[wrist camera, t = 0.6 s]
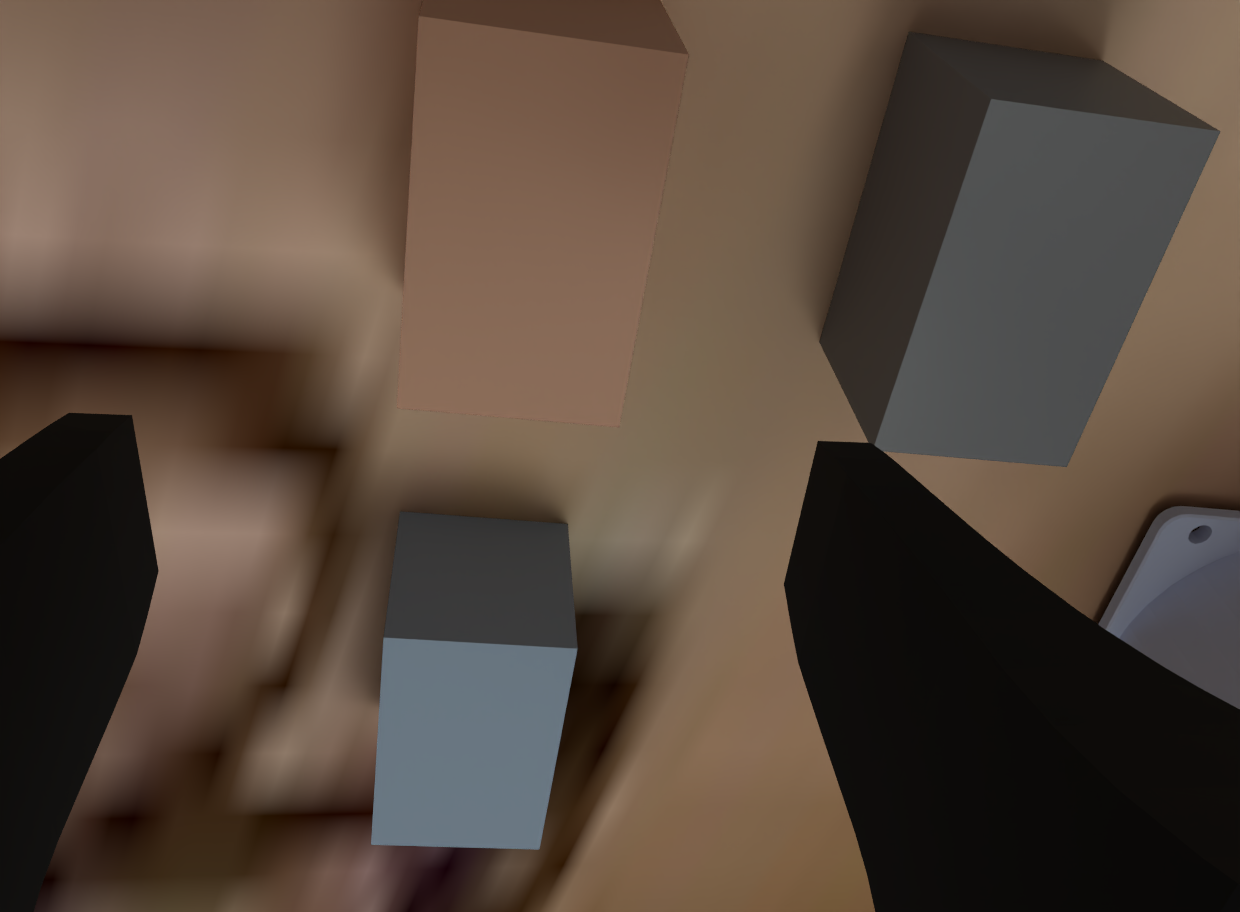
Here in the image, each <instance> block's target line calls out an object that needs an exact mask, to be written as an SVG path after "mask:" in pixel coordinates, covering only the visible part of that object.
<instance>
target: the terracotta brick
mask: <svg viewBox="0 0 1240 912" xmlns="http://www.w3.org/2000/svg"><path fill="white" fill-rule="evenodd" d="M688 58H689V54H688V52H687V50H686V48H685V46H684V44H683V42H682V41H681V39H680V37H679V35H678V33H677V31H676V29H675V27H674V26H673V24H672V22H671V20H670V18H669V16H668V14H667V12H666V11H665V9H664V7H663V5H662V3H661V1H660V0H423V1H422V5H421V9H420V13H419V20H418V38H417V55H416V73H415V91H414V109H413V127H412V145H411V163H410V181H409V199H408V217H407V235H406V253H405V271H404V289H403V307H402V325H401V342H400V360H399V378H398V396H397V408H399V409H411V410H422V411H434V412H446V413H457V414H469V415H480V416H492V417H503V418H515V419H527V420H538V421H550V422H561V423H573V424H584V425H596V426H608V427H620V422H621V416H622V411H623V405H624V400H625V395H626V389H627V384H628V379H629V373H630V368H631V363H632V357H633V352H634V347H635V341H636V336H637V331H638V325H639V320H640V315H641V309H642V304H643V298H644V293H645V288H646V282H647V277H648V272H649V266H650V261H651V256H652V250H653V245H654V240H655V234H656V229H657V224H658V218H659V213H660V208H661V202H662V197H663V191H664V186H665V181H666V175H667V170H668V165H669V159H670V154H671V149H672V143H673V138H674V133H675V127H676V122H677V117H678V111H679V106H680V101H681V95H682V90H683V85H684V79H685V74H686V68H687V63H688Z"/></svg>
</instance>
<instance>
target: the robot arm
mask: <svg viewBox="0 0 1240 912" xmlns="http://www.w3.org/2000/svg"><path fill="white" fill-rule="evenodd" d="M1199 526H1200V527H1199ZM1197 527H1199V528H1198V529H1197V530H1195V531H1193V532H1192V530H1193V529H1195V528H1197ZM157 575H158V565H157V560H156V554H155V548H154V542H153V536H152V530H151V524H150V519H149V513H148V507H147V501H146V495H145V489H144V483H143V478H142V472H141V466H140V460H139V454H138V448H137V442H136V437H135V431H134V425H133V419H132V415H111V414H84V413H68V414H67V415H65V416H63V417H62V418H60V419H58V420H57V421H55V422H53V423H52V424H50V425H49V426H47V427H46V428H44V429H43V430H41V431H40V432H38V433H37V434H35V435H34V436H32V437H31V438H29V439H28V440H27V441H25V442H24V443H22V444H21V445H19V446H18V447H17V448H15V449H14V450H12V451H11V452H9V453H8V454H7V455H5V456H4V457H2V458H1V459H0V912H33V911H34V908H35V905H36V901H37V898H38V895H39V892H40V888H41V885H42V882H43V880H44V877H45V874H46V872H47V869H48V866H49V864H50V861H51V858H52V856H53V853H54V850H55V848H56V845H57V842H58V840H59V837H60V835H61V833H62V830H63V828H64V826H65V823H66V821H67V819H68V816H69V814H70V812H71V809H72V807H73V805H74V802H75V800H76V798H77V795H78V793H79V791H80V788H81V786H82V784H83V781H84V779H85V776H86V774H87V772H88V769H89V767H90V765H91V762H92V760H93V758H94V755H95V753H96V751H97V748H98V746H99V744H100V741H101V739H102V737H103V734H104V732H105V730H106V727H107V725H108V723H109V720H110V718H111V716H112V713H113V711H114V708H115V706H116V704H117V701H118V699H119V696H120V694H121V692H122V689H123V687H124V684H125V682H126V680H127V677H128V675H129V672H130V670H131V667H132V665H133V662H134V660H135V657H136V655H137V652H138V648H139V644H140V641H141V637H142V634H143V630H144V626H145V623H146V619H147V615H148V611H149V607H150V603H151V599H152V595H153V591H154V587H155V583H156V579H157ZM784 587H785V593H786V599H787V605H788V611H789V616H790V622H791V628H792V633H793V638H794V643H795V648H796V653H797V658H798V663H799V666H800V669H801V672H802V676H803V679H804V682H805V685H806V688H807V691H808V694H809V697H810V700H811V703H812V706H813V709H814V712H815V715H816V718H817V721H818V724H819V727H820V730H821V733H822V736H823V739H824V742H825V745H826V748H827V751H828V754H829V757H830V760H831V763H832V766H833V769H834V772H835V775H836V778H837V781H838V784H839V787H840V790H841V792H842V795H843V798H844V801H845V804H846V807H847V810H848V813H849V816H850V819H851V822H852V825H853V828H854V831H855V834H856V837H857V841H858V844H859V848H860V851H861V855H862V858H863V862H864V865H865V869H866V872H867V876H868V880H869V885H870V890H871V894H872V899H873V903H874V908H875V912H1240V511H1236V510H1224V509H1212V508H1200V507H1188V506H1177V507H1171V508H1169V509H1166V510H1164V511H1163V512H1161V513H1160V514H1159V515H1158V516H1157V517H1156V518H1155V520H1154V521H1153V522H1152V524H1151V526H1150V528H1149V530H1148V532H1147V534H1146V535H1145V537H1144V539H1143V541H1142V543H1141V545H1140V547H1139V549H1138V551H1137V552H1136V554H1135V556H1134V558H1133V560H1132V562H1131V564H1130V566H1129V567H1128V569H1127V571H1126V573H1125V575H1124V577H1123V579H1122V581H1121V583H1120V584H1119V586H1118V588H1117V590H1116V592H1115V594H1114V596H1113V598H1112V599H1111V601H1110V603H1109V605H1108V607H1107V609H1106V611H1105V613H1104V615H1103V616H1102V618H1101V620H1100V622H1099V624H1097V623H1095V622H1094V621H1092V620H1091V619H1089V618H1088V617H1086V616H1085V615H1084V614H1082V613H1081V612H1079V611H1078V610H1076V609H1075V608H1074V607H1072V606H1071V605H1070V604H1068V603H1067V602H1066V601H1064V600H1063V599H1062V598H1060V597H1059V596H1058V595H1056V594H1055V593H1054V592H1052V591H1051V590H1050V589H1048V588H1047V587H1046V586H1044V585H1043V584H1042V583H1040V582H1039V581H1038V580H1036V579H1035V578H1034V577H1032V576H1031V575H1030V574H1028V573H1027V572H1026V571H1025V570H1023V569H1022V568H1021V567H1019V566H1018V565H1017V564H1016V563H1014V562H1013V561H1012V560H1011V559H1009V558H1008V557H1007V556H1006V555H1004V554H1003V553H1002V552H1001V551H999V550H998V549H997V548H996V547H995V546H993V545H992V544H991V543H990V542H989V541H987V540H986V539H985V538H984V537H983V536H981V535H980V534H979V533H978V532H977V531H975V530H974V529H973V528H972V527H971V526H969V525H968V524H967V523H966V522H965V521H964V520H962V519H961V518H960V517H959V516H958V515H957V514H955V513H954V512H953V511H952V510H951V509H950V508H948V507H947V506H946V505H945V504H944V503H943V502H942V501H940V500H939V499H938V498H937V497H936V496H935V495H933V494H932V493H931V492H930V491H929V490H928V489H927V488H925V487H924V486H923V485H922V484H921V483H920V482H919V481H917V480H916V479H915V478H914V477H913V476H912V475H910V474H909V473H908V472H907V471H906V470H905V469H903V468H902V467H901V466H900V465H899V464H897V463H896V462H895V461H894V460H893V459H892V458H890V457H889V456H888V455H887V454H885V453H884V452H883V451H881V450H880V449H879V448H877V447H876V446H875V445H873V444H872V443H857V442H830V441H818V443H817V447H816V451H815V455H814V459H813V464H812V468H811V472H810V476H809V481H808V485H807V489H806V493H805V497H804V502H803V506H802V510H801V514H800V518H799V523H798V527H797V531H796V535H795V540H794V544H793V548H792V552H791V556H790V561H789V565H788V569H787V573H786V577H785V582H784Z"/></svg>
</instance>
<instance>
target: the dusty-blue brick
mask: <svg viewBox="0 0 1240 912" xmlns="http://www.w3.org/2000/svg"><path fill="white" fill-rule="evenodd" d="M576 653H577V638H576V625H575V612H574V599H573V586H572V573H571V560H570V547H569V534H568V524H561V523H548V522H534V521H521V520H508V519H494V518H481V517H468V516H455V515H441V514H428V513H415V512H401V511H400V515H399V523H398V531H397V538H396V546H395V554H394V561H393V569H392V577H391V584H390V592H389V600H388V607H387V615H386V623H385V630H384V638H383V655H382V672H381V689H380V706H379V723H378V740H377V757H376V773H375V790H374V807H373V824H372V841H371V845H401V846H436V847H472V848H507V849H539V848H540V843H541V838H542V832H543V827H544V822H545V817H546V811H547V806H548V801H549V796H550V790H551V785H552V780H553V774H554V769H555V764H556V759H557V753H558V748H559V743H560V738H561V732H562V727H563V722H564V716H565V711H566V706H567V701H568V695H569V690H570V685H571V680H572V674H573V669H574V664H575V658H576Z"/></svg>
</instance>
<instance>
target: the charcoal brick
mask: <svg viewBox="0 0 1240 912" xmlns="http://www.w3.org/2000/svg"><path fill="white" fill-rule="evenodd" d="M1219 133H1220V131H1219V130H1217V129H1216V128H1214V127H1212V126H1211V125H1209V124H1207V123H1206V122H1204V121H1202V120H1201V119H1199V118H1197V117H1196V116H1194V115H1192V114H1191V113H1189V112H1187V111H1186V110H1184V109H1182V108H1181V107H1179V106H1177V105H1176V104H1174V103H1172V102H1171V101H1169V100H1167V99H1166V98H1164V97H1162V96H1161V95H1159V94H1157V93H1156V92H1154V91H1152V90H1151V89H1149V88H1147V87H1146V86H1144V85H1142V84H1141V83H1139V82H1137V81H1136V80H1134V79H1132V78H1131V77H1129V76H1127V75H1126V74H1124V73H1122V72H1121V71H1119V70H1117V69H1116V68H1114V67H1112V66H1111V65H1109V64H1107V63H1106V62H1104V61H1101V60H1095V59H1088V58H1081V57H1075V56H1068V55H1061V54H1055V53H1048V52H1041V51H1035V50H1028V49H1021V48H1014V47H1008V46H1001V45H994V44H988V43H981V42H974V41H968V40H961V39H954V38H948V37H941V36H934V35H928V34H921V33H914V32H909V33H908V36H907V40H906V43H905V46H904V50H903V53H902V57H901V60H900V64H899V67H898V71H897V74H896V78H895V81H894V85H893V88H892V92H891V95H890V99H889V102H888V106H887V109H886V112H885V116H884V119H883V123H882V126H881V130H880V133H879V137H878V140H877V144H876V147H875V151H874V154H873V158H872V161H871V165H870V168H869V172H868V175H867V178H866V182H865V185H864V189H863V192H862V196H861V199H860V203H859V206H858V210H857V213H856V217H855V220H854V224H853V227H852V231H851V234H850V238H849V241H848V244H847V248H846V251H845V255H844V258H843V262H842V265H841V269H840V272H839V276H838V279H837V283H836V286H835V290H834V293H833V297H832V300H831V304H830V307H829V310H828V314H827V317H826V321H825V324H824V328H823V331H822V335H821V338H820V344H821V346H822V348H823V350H824V353H825V355H826V357H827V359H828V361H829V363H830V365H831V367H832V369H833V371H834V373H835V375H836V377H837V379H838V381H839V383H840V385H841V387H842V389H843V391H844V393H845V395H846V397H847V399H848V401H849V403H850V405H851V407H852V409H853V411H854V414H855V416H856V418H857V420H858V422H859V424H860V426H861V428H862V430H863V432H864V434H865V436H866V438H867V440H868V442H869V443H872V444H873V445H875V446H876V447H877V448H879V449H880V450H881V451H886V452H898V453H910V454H921V455H933V456H945V457H956V458H968V459H980V460H991V461H1003V462H1014V463H1026V464H1038V465H1049V466H1061V467H1067V465H1068V463H1069V461H1070V459H1071V456H1072V454H1073V452H1074V450H1075V448H1076V446H1077V443H1078V441H1079V439H1080V437H1081V435H1082V432H1083V430H1084V428H1085V426H1086V424H1087V422H1088V419H1089V417H1090V415H1091V413H1092V411H1093V408H1094V406H1095V404H1096V402H1097V400H1098V398H1099V395H1100V393H1101V391H1102V389H1103V387H1104V384H1105V382H1106V380H1107V378H1108V376H1109V373H1110V371H1111V369H1112V367H1113V365H1114V363H1115V360H1116V358H1117V356H1118V354H1119V352H1120V349H1121V347H1122V345H1123V343H1124V341H1125V339H1126V336H1127V334H1128V332H1129V330H1130V328H1131V325H1132V323H1133V321H1134V319H1135V317H1136V315H1137V312H1138V310H1139V308H1140V306H1141V304H1142V301H1143V299H1144V297H1145V295H1146V293H1147V291H1148V288H1149V286H1150V284H1151V282H1152V280H1153V277H1154V275H1155V273H1156V271H1157V269H1158V267H1159V264H1160V262H1161V260H1162V258H1163V256H1164V253H1165V251H1166V249H1167V247H1168V245H1169V242H1170V240H1171V238H1172V236H1173V234H1174V232H1175V229H1176V227H1177V225H1178V223H1179V221H1180V218H1181V216H1182V214H1183V212H1184V210H1185V208H1186V205H1187V203H1188V201H1189V199H1190V197H1191V194H1192V192H1193V190H1194V188H1195V186H1196V184H1197V181H1198V179H1199V177H1200V175H1201V173H1202V170H1203V168H1204V166H1205V164H1206V162H1207V160H1208V157H1209V155H1210V153H1211V151H1212V149H1213V146H1214V144H1215V142H1216V140H1217V138H1218V135H1219Z"/></svg>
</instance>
